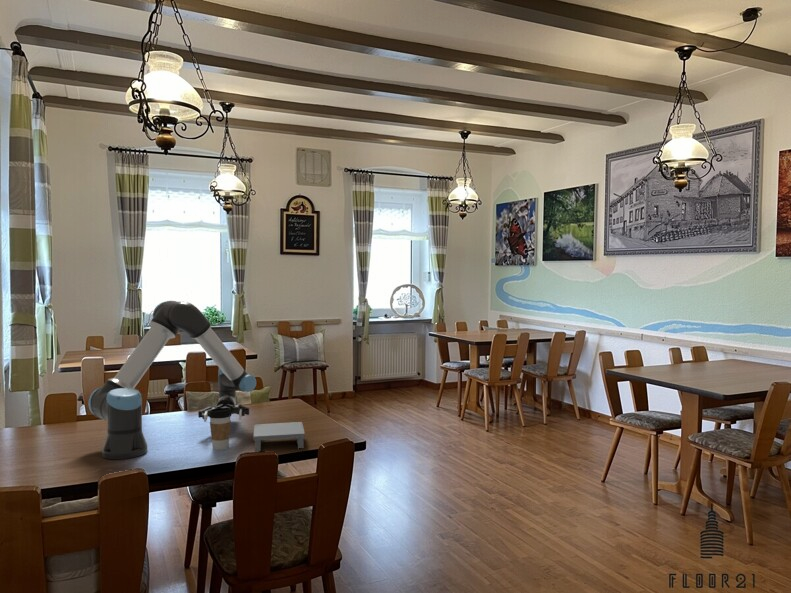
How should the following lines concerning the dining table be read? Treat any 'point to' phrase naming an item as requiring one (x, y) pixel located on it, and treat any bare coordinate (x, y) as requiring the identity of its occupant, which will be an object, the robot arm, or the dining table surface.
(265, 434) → the bridge shelf
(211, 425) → the coffee cup
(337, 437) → the dining table surface
